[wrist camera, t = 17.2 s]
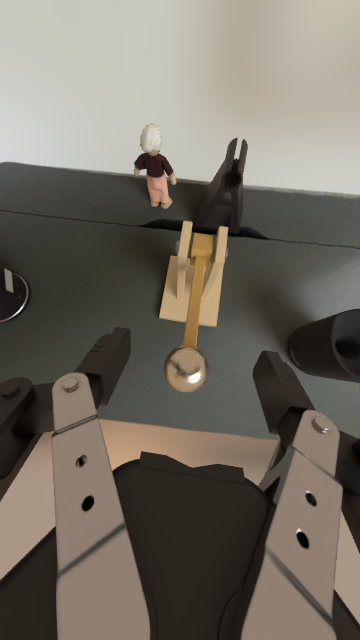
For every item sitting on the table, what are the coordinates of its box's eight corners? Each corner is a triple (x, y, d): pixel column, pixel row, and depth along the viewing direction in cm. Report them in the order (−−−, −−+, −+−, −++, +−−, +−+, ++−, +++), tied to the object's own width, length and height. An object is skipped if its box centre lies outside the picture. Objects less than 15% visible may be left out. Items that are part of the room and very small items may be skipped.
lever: (203, 399, 15) (212, 392, 12) (160, 392, 15) (158, 383, 12) (213, 257, 24) (220, 231, 21) (186, 253, 24) (189, 227, 21)
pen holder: (289, 317, 34) (335, 299, 24) (340, 332, 33) (409, 320, 23) (280, 368, 32) (326, 371, 22) (334, 385, 31) (407, 395, 21)
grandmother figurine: (177, 195, 39) (177, 118, 27) (176, 210, 38) (176, 138, 26) (140, 193, 39) (124, 114, 27) (138, 208, 38) (120, 134, 26)
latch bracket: (214, 327, 33) (245, 300, 18) (159, 318, 33) (146, 285, 19) (222, 266, 36) (253, 202, 21) (170, 259, 36) (167, 189, 21)
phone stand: (194, 225, 37) (202, 163, 26) (200, 201, 39) (210, 132, 27) (238, 234, 37) (266, 176, 26) (242, 210, 39) (271, 144, 27)
